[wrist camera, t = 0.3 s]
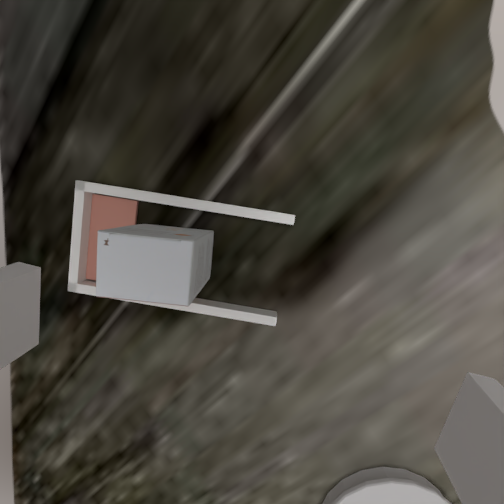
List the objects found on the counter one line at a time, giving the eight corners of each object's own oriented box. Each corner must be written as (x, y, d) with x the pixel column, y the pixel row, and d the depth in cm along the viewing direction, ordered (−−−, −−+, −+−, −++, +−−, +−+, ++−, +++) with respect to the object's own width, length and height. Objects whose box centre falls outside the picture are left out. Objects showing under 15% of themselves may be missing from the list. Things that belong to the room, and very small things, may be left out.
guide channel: (86, 181, 36) (75, 180, 34) (293, 214, 35) (295, 215, 33) (78, 286, 37) (67, 291, 35) (275, 319, 37) (275, 326, 35)
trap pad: (94, 193, 36) (92, 193, 35) (138, 201, 36) (137, 201, 35) (87, 277, 37) (85, 278, 37) (130, 284, 37) (128, 285, 37)
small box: (141, 271, 37) (91, 297, 26) (144, 222, 36) (94, 229, 26) (211, 279, 37) (189, 309, 26) (215, 229, 36) (194, 240, 25)
